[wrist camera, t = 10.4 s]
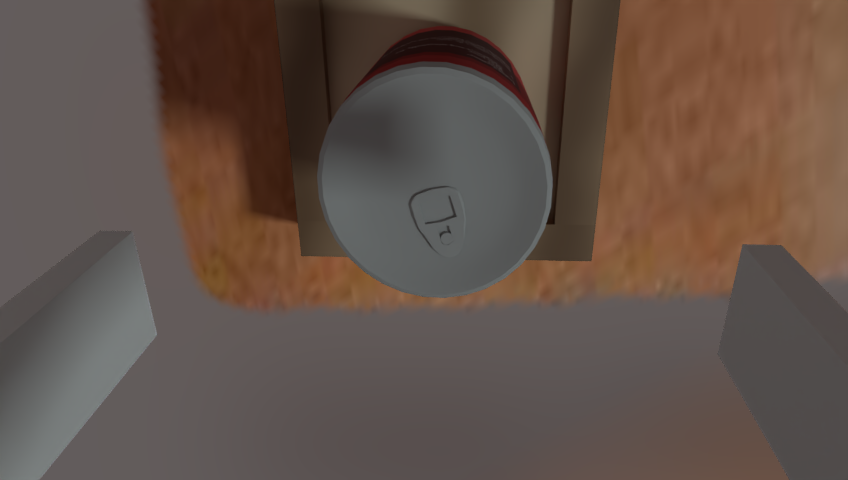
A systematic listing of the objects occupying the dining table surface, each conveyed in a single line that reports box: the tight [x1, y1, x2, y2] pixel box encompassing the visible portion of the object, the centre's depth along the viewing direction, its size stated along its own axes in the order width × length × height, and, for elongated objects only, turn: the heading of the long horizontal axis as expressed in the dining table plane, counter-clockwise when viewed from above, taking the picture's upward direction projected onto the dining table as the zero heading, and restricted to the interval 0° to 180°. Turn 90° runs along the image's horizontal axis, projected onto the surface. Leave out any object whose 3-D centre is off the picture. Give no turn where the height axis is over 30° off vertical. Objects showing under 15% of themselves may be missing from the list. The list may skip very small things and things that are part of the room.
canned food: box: [317, 26, 553, 298], centre depth 25 cm, size 8×8×11 cm
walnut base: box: [274, 0, 620, 261], centre depth 31 cm, size 15×15×4 cm
